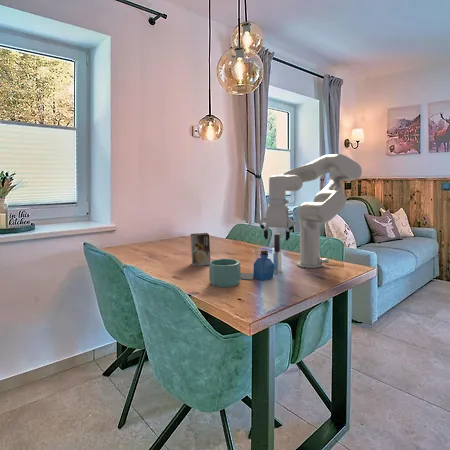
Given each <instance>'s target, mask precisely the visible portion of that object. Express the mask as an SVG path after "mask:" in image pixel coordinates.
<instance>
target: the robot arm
mask: <svg viewBox="0 0 450 450" xmlns="http://www.w3.org/2000/svg"><path fill="white" fill-rule="evenodd" d="M362 172H363V169H362V167H361V164H359V163H358V162H357V161H355V160H353V159H351V158H350V157H348V156H347V155H344V154H341V153H335V154H334V153H333V154H323V155H322V156H320V157H318V158H317V159H314V160H312V161H311V162H308V163H307V164H304V165H301V166H297V167H295V168H291V169H290V170H287V171H285V172H283V173H281V174H279V175H275V174H274V175H271V176H269V178H268V205H267V207H266V213H265V214H266V215H265V217H264V218H262V219H260V220H258V221H257V223H258V224H259V226H260V228H261V229H262V230H263V237H264V240H268V239H269V230H268V229H269V228H280V229H281V228H282V229H283V228H284V229H285V230H286V231H285V241H288V240H289V239H290V237H291V236H290V235H291V233H290V232H291V231H292V230H293V229H295V228H294V227H295V225H296V224H297V222H296V221H294V220H293V219H291V218H289V207H288V205H286V204H289V201H290V200H288V199H286V198H287V195H286V193H287V192H297V191H300V190H301V189H302V187H303V183H306V182H308V183H309V182H312V181H315V180H317V179H319V178H321V177H322V176H325V175H327V174H328V173H329V182H328V184H327V185H325V187H324V188H322V189H321V190H320V191H318V193H317V194H316V195H315V196H314V198H313V201H305V202H303V203H301V205H299V207H298V210H297V214H298V215H297V216H298V221H299V260H298V261H297V262H296V266H298V267H300V268H304V267H305V269H316V268H317V267H318V268H321V267H323V265H324V264H329V263H330V261H329V258H328V259H327V258H322V257H321V255H320V245H321V244H320V243H321V242H320V241H321V239H320V237H321V235H320V234H321V231H320V230H321V229H320V225H319V224H326V223H329V222H330V221H332V220H333V219H334V218H335V217H336V216H337V215H338V214H339V213H340V212H341V211H342V210H343V209H344V208H345V206H346V204H347V196H346V194H345V193H344V186H343V181H356V180H358V179H360V177H361V176H362ZM264 222H265V225H264V224H263V223H264ZM289 223H291V225H290V226H289Z"/></svg>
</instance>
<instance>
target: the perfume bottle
mask: <svg viewBox="0 0 450 450" xmlns="http://www.w3.org/2000/svg"><path fill="white" fill-rule="evenodd" d="M268 257H269V251H268V250H260V254H259V257H258V258H256V260H255V262H254V263H253V273H252V274H253V277H254V279H258V280H259V281H262V282H264V281H268V279H269V280H272V278H273V279H274V274H273V273H274V264H273V261H272V259H271V258H268Z"/></svg>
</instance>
